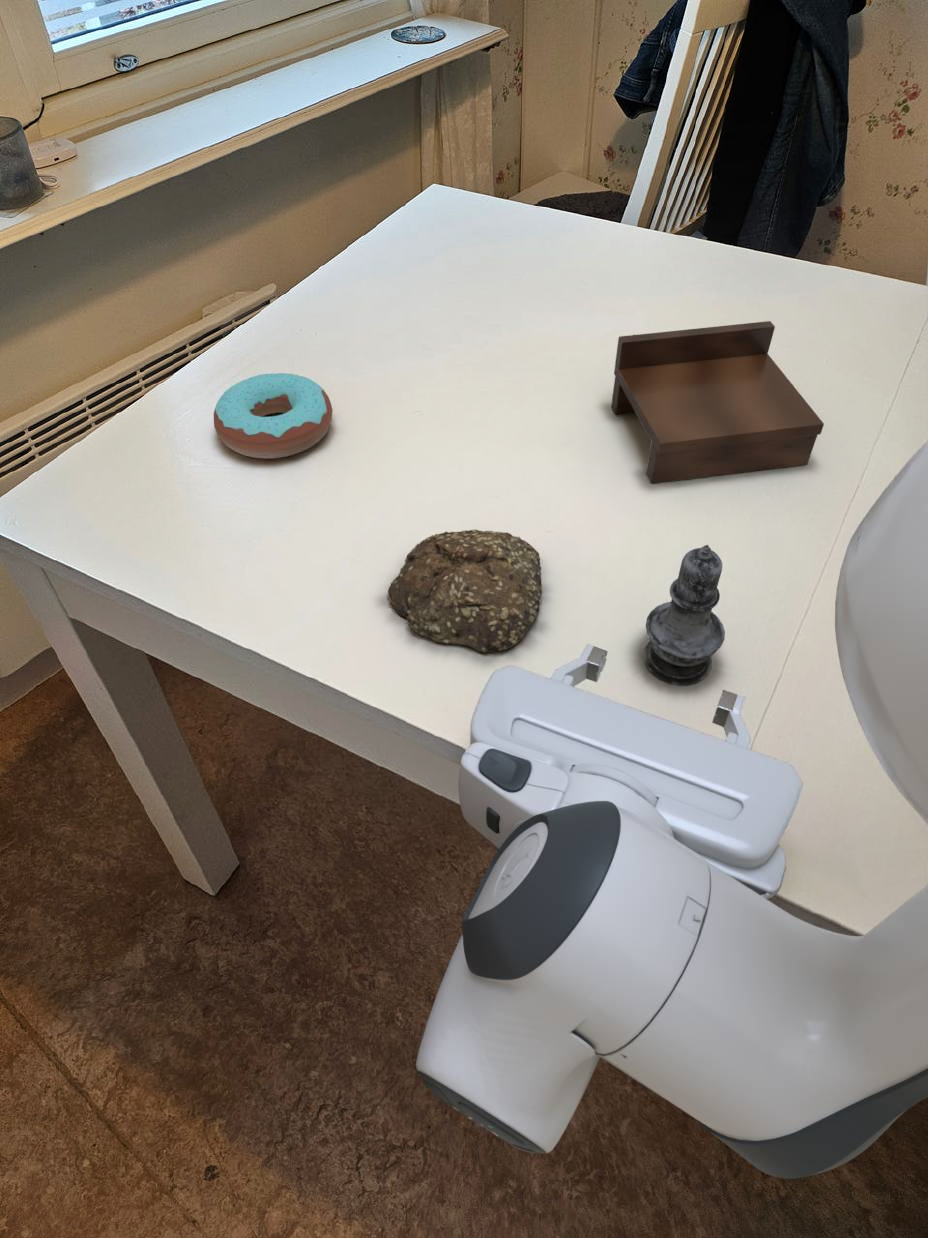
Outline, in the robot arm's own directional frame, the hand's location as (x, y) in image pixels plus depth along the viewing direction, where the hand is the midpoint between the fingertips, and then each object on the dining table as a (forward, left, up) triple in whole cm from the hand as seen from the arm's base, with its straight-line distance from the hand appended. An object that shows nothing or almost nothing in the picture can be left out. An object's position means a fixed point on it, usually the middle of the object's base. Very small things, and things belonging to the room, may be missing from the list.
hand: (662, 675), depth 59 cm
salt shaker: (-4, -6, -7) cm, 10 cm away
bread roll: (+11, -16, -7) cm, 20 cm away
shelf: (-17, -34, -6) cm, 39 cm away
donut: (+26, -43, -7) cm, 51 cm away
